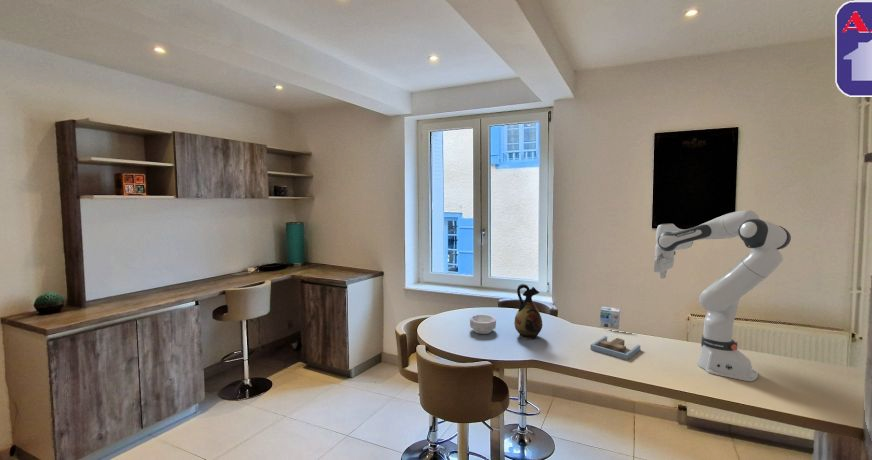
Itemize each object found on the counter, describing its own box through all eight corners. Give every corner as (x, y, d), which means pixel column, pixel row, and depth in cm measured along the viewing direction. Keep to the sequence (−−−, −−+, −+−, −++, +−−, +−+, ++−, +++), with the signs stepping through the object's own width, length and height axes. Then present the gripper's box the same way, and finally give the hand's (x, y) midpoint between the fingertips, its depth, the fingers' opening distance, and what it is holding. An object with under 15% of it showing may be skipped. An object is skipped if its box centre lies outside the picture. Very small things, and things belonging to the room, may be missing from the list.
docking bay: (640, 350, 207) (640, 345, 207) (626, 360, 195) (627, 355, 195) (604, 340, 220) (605, 336, 220) (590, 349, 209) (590, 344, 208)
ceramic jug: (539, 331, 235) (540, 281, 231) (544, 342, 219) (545, 288, 216) (510, 331, 236) (510, 281, 233) (512, 341, 221) (513, 288, 218)
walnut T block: (632, 349, 208) (632, 341, 208) (622, 356, 200) (622, 348, 200) (609, 343, 217) (609, 335, 217) (598, 349, 209) (599, 341, 208)
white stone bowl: (497, 335, 229) (497, 322, 228) (470, 336, 230) (470, 322, 229) (494, 326, 244) (494, 314, 244) (469, 326, 245) (469, 314, 244)
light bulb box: (599, 326, 242) (600, 309, 241) (600, 323, 248) (601, 306, 247) (618, 329, 237) (619, 311, 236) (619, 325, 243) (620, 308, 242)
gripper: (664, 256, 208) (662, 282, 209) (676, 251, 222) (675, 275, 223) (651, 254, 212) (649, 280, 214) (664, 250, 226) (662, 274, 228)
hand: (662, 278), depth 219 cm, fingers closed
